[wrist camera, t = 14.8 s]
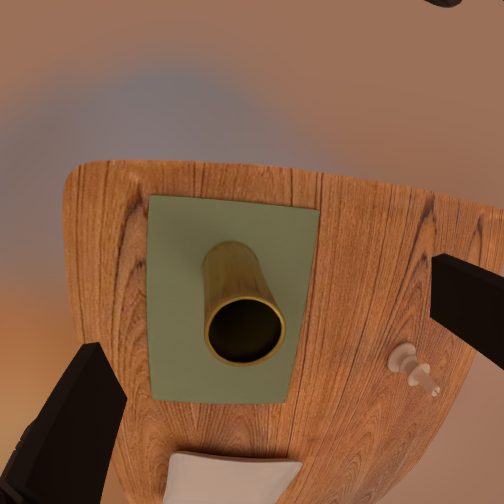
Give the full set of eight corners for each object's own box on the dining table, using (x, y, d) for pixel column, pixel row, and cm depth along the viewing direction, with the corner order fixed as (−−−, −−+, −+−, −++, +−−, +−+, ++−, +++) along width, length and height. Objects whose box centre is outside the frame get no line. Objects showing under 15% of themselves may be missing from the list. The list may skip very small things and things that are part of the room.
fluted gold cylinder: (199, 292, 32) (193, 369, 18) (204, 237, 31) (200, 283, 17) (254, 298, 33) (283, 374, 19) (262, 243, 32) (302, 292, 18)
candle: (384, 352, 39) (422, 393, 29) (412, 336, 39) (454, 370, 29) (388, 376, 40) (423, 416, 30) (415, 360, 40) (452, 395, 30)
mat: (151, 194, 30) (149, 195, 29) (317, 209, 33) (319, 210, 32) (153, 395, 35) (152, 399, 35) (283, 399, 38) (285, 403, 38)
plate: (171, 437, 38) (170, 454, 34) (300, 448, 42) (306, 463, 38) (162, 496, 42) (161, 509, 38) (264, 504, 46) (266, 516, 42)
